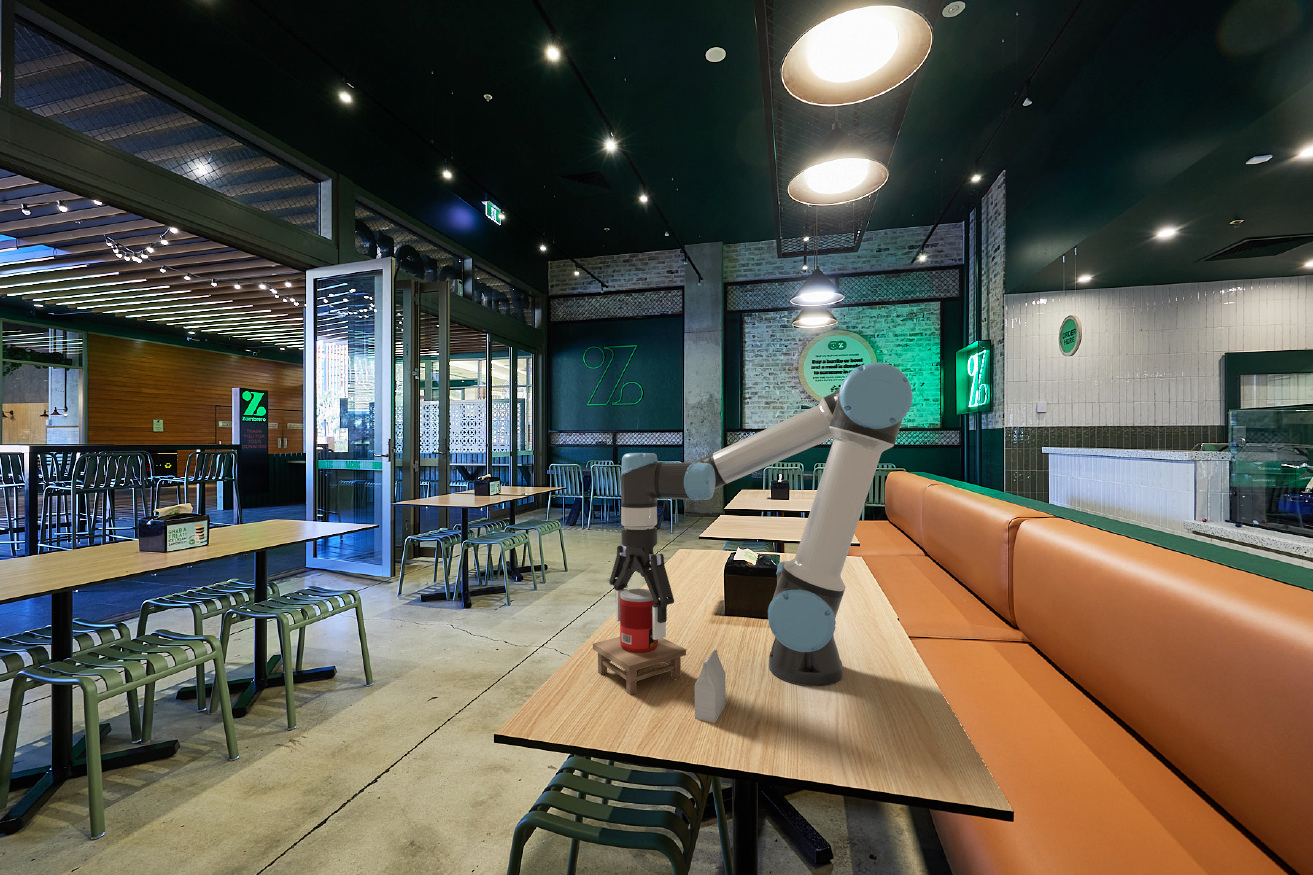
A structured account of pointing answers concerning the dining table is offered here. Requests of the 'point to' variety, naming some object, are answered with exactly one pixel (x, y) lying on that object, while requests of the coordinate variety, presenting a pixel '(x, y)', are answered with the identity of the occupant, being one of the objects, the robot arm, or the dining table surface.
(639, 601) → the canned food
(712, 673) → the grey pointed block
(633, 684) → the stool
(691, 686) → the dining table surface
